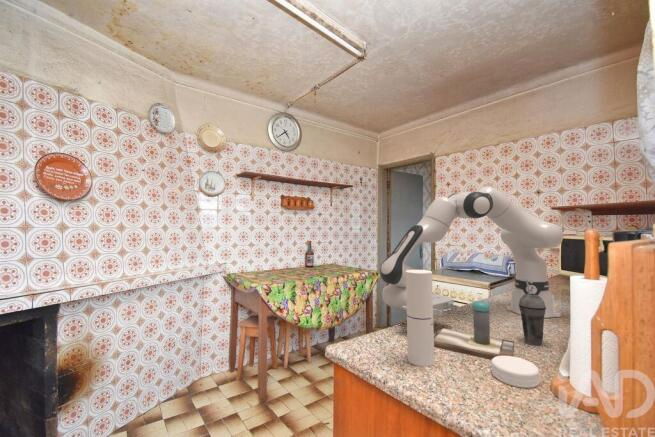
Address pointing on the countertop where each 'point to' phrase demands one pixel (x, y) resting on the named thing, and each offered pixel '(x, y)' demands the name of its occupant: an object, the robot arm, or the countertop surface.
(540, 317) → the beverage cup
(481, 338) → the bottle
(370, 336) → the countertop surface
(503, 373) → the coaster
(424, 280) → the cylindrical container
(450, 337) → the clipboard
